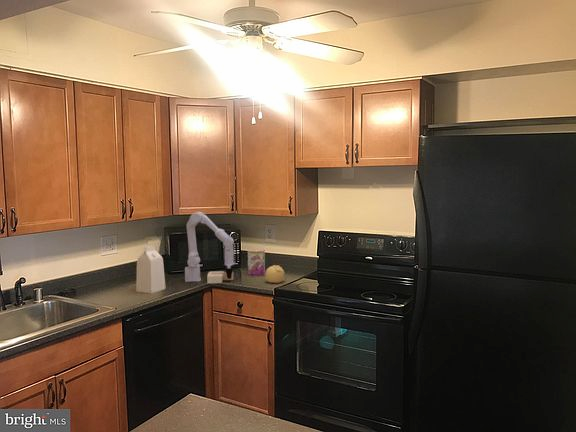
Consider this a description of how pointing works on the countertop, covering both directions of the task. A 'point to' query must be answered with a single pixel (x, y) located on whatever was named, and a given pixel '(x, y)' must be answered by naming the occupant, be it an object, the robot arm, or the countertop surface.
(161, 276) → the milk
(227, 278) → the thin wooden plank
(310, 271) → the countertop surface
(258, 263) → the candy bar box
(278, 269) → the beige round lump
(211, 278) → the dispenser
